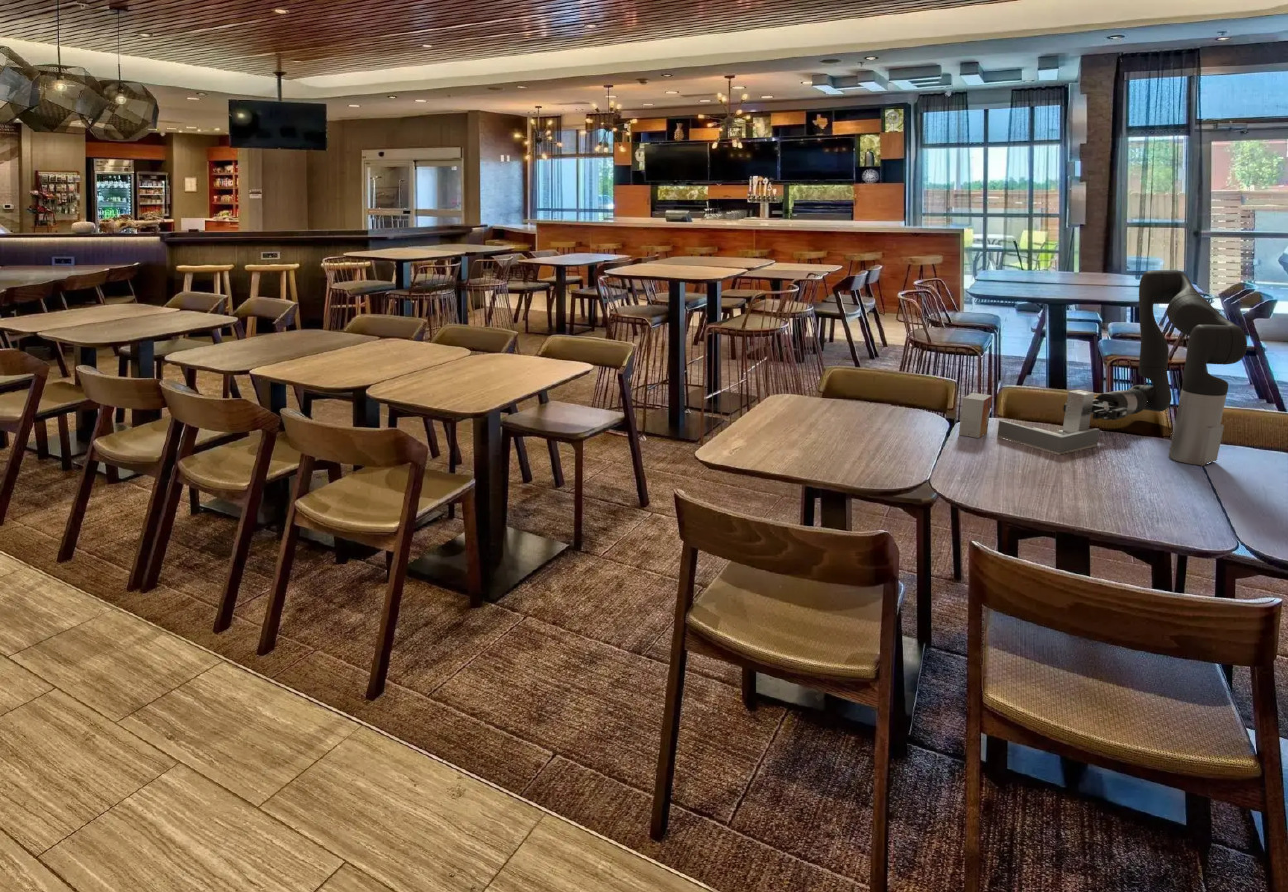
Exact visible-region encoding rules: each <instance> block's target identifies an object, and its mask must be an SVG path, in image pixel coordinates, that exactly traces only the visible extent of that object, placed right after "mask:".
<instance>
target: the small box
mask: <svg viewBox="0 0 1288 892" xmlns="http://www.w3.org/2000/svg"><path fill="white" fill-rule="evenodd" d="M992 398H993V395H991V394H984V393H978V392H977V393H976V392H971V393H969V394H967V396H964V397H962V404H961V411H960V412H961V413H960V418H959V419H960V421H959V428H958V429H959V431H958V435H959V436H962V435H963V436H964V437H968V436H969V437H970V438H975V439H976V438H977V439H980V438H981V437H983V436H984V435H985V434H988V429H989V421H990V416H991V415H990V414H991V405H992ZM983 434H984V435H983ZM982 435H983V436H982Z"/></svg>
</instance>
